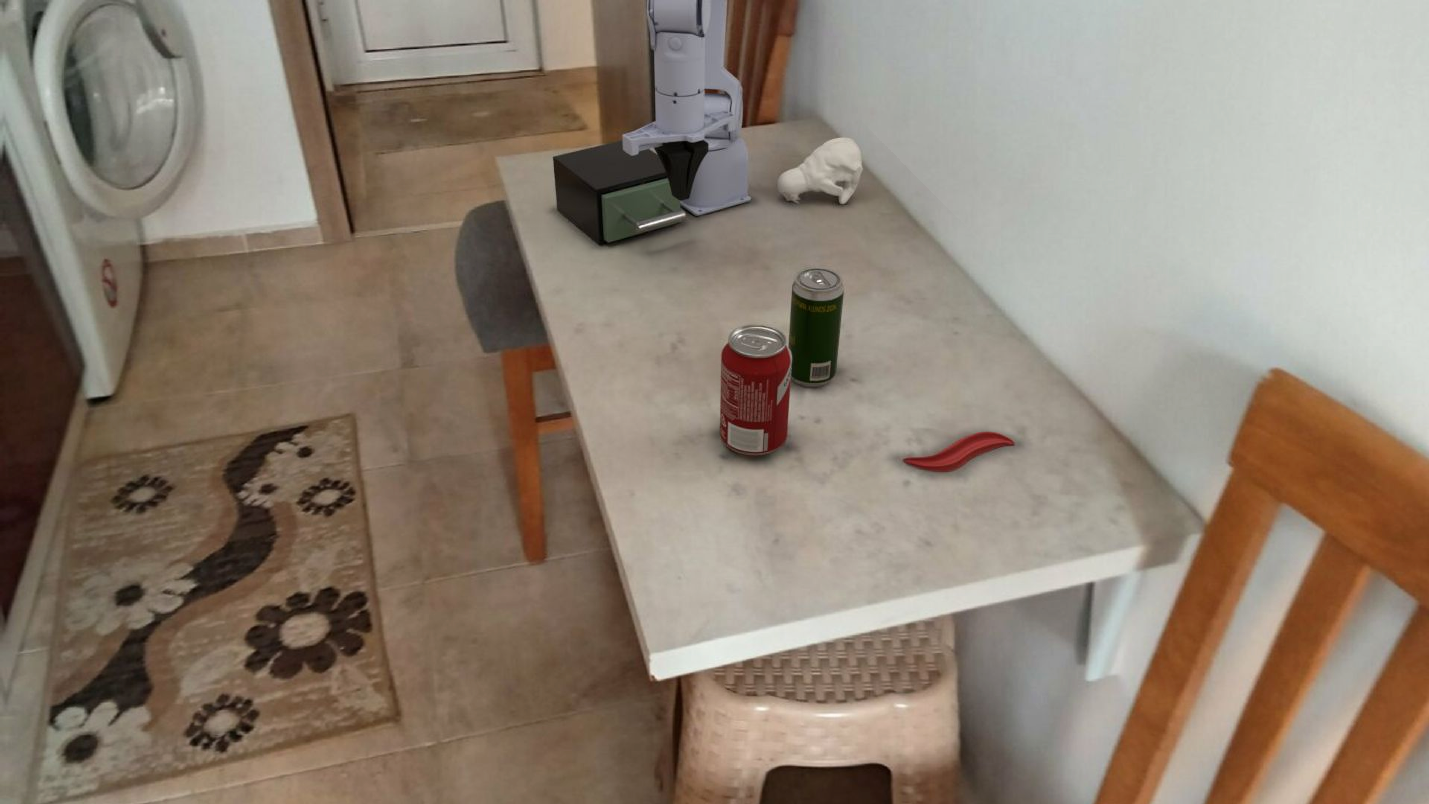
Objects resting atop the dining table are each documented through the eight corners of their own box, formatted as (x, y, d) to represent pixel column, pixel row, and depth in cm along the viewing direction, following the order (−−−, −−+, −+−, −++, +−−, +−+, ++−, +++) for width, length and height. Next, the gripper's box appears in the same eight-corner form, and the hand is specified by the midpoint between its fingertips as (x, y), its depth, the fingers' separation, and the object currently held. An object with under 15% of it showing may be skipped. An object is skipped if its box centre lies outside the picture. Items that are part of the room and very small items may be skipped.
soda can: (765, 469, 104) (770, 367, 97) (707, 445, 107) (707, 345, 100) (798, 433, 109) (805, 333, 102) (741, 412, 112) (744, 313, 105)
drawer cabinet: (679, 223, 147) (679, 168, 142) (599, 245, 141) (596, 189, 137) (634, 190, 155) (632, 137, 151) (556, 210, 150) (552, 156, 145)
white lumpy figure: (867, 145, 147) (782, 160, 146) (866, 201, 152) (785, 216, 151) (852, 128, 152) (770, 142, 151) (852, 183, 157) (773, 197, 156)
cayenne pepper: (909, 474, 104) (911, 459, 103) (895, 445, 108) (897, 430, 107) (1026, 464, 106) (1030, 448, 104) (1009, 435, 109) (1013, 420, 108)
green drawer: (699, 235, 142) (699, 191, 138) (625, 257, 137) (623, 212, 133) (638, 191, 153) (636, 149, 149) (567, 210, 148) (564, 167, 144)
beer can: (845, 381, 117) (854, 285, 110) (802, 393, 115) (809, 296, 108) (819, 356, 121) (827, 262, 114) (777, 368, 119) (783, 272, 112)
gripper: (642, 111, 118) (646, 223, 126) (751, 86, 124) (747, 195, 132) (611, 91, 122) (616, 201, 130) (717, 69, 129) (716, 174, 137)
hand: (680, 196), depth 132 cm, fingers closed
